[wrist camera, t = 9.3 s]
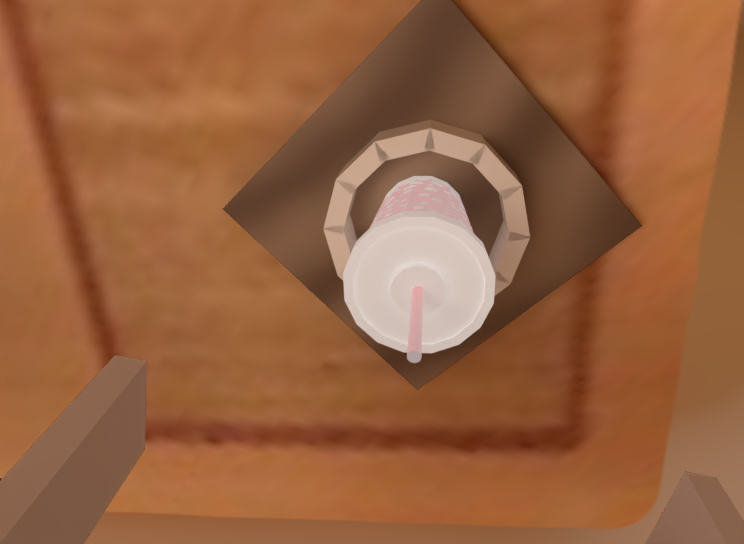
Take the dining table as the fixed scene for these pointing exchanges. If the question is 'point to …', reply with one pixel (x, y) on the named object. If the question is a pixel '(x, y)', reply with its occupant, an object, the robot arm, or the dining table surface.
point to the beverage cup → (419, 271)
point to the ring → (447, 143)
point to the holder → (435, 172)
